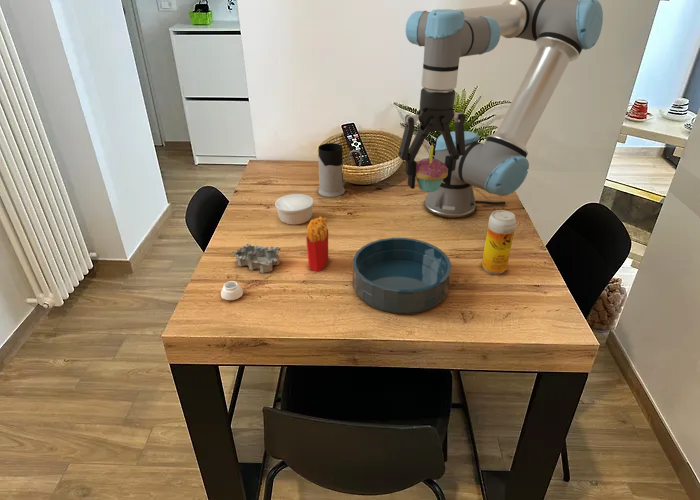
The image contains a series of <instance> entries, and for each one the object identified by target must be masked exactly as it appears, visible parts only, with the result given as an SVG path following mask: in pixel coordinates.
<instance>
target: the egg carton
mask: <svg viewBox="0 0 700 500" xmlns="http://www.w3.org/2000/svg"><path fill="white" fill-rule="evenodd" d="M281 251H282V250H281V248H280V247H278V246H270V247H269V246H262V245H252V244H250V243H247V244H246V245H243V246H242V247H240V248H239V249H236V251H234V252H233V251H232V253H233V256H235V257H236V263H237V266H238V267H245V266H248V269H249V270H251V271H254V270H255V269H258V270H259V271H260V273H261V274H264V273H269V272H272V271H273V270H274V269H273V267H274V266H278V265H280V263H281V262H280V255H279V254H280V252H281Z"/></svg>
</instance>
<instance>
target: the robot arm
mask: <svg viewBox="0 0 700 500" xmlns="http://www.w3.org/2000/svg"><path fill="white" fill-rule="evenodd" d="M603 21H604V11H603V7H602V4H601V2H599V0H505V1H504V2H503V3H501V4H494V5H485V6H476V7H466V8H457V9H451V8H444V9H442V8H441V9H439V8H437V9H432V10H430V11H428V10H416V11H414V12H413V13H411V14H410V15H409V17H408V19H407V20H406V23H405V35H406V36H405V37H406V39H407V40H408V42H409V43H410V44H411V45H417V46H418V47H423V48H424V50H423V63H422V74H421V83H420V84H421V87H422V88H421V89H420V96H419V97H420V98H419V109H418V112H417V114H413V115H410V114H406V115H405V116H404V120H405V121H404V122H405V126H404V130H403V133H402V138H401V142H400V146H399V150H398V152H397V153H398V156H397V157H399V158H400V160H401V161H405V165H404V166H405V167H404V168H405V169H404V172H405V173H406V175H407V186H408V187H409V188H410V189H412V190H413V189H414V190H415V187H416V164H417V162H418V161H416V160H415V159H416V157H417V156H418V154H419V151H420V150H421V148H422V145H423V143H424V142H425V140H426V138H427V137H428V136H429V134H430V133H434V132H440V133H441V134H440V135H439V136H438V138H437V139H436V144H435V148H434V159H436V160H437V159H438V160H439V161H441V162H443V163H445V164H446V166H447V168H448V175H447V177H446V178H444V179H443V181H442V183H441V185H440V187H439V189H438V190H437V191H434V192H427V193H426V196H425V199H424V208H425V209H426V211H427V212H429V213H430V214H432V215H435V216H437V217H441V218H445V219H462V218H466V217H468V216H471V215H472V214H474V212H475V210H476V204H477V205H490V206H500V205H501V206H505V205H506V201H487V200H476V197H475V193H474V189H473V187H475V188H478V189H480V190H482V191H485V192H487V194H492V195H495V196H498V197H507V196H509V195H511V194H513V193H515V191H517V190H518V189H519V188H520V187H521V185H522V184H523V183H524V181H525V180H526V177H527V175H528V172H529V169H530V161H529V159H527V157H528V155H529V152H528V149H527V143H529V140H530V138H531V136H532V134H533V133H534V130H535V129H536V127H537V125H538V123H539V121H540V119H541V117H542V115H543V113H544V111H545V109H546V108H547V105H548V104H549V102H550V100H551V97H552V96H553V94H554V92H555V90H556V88H557V86H558V84H559V82H560V80H561V79H562V77H563V74H564V73H565V71H566V69H567V67H568V65H569V63H571V62H573V61H576V60H578V58H579V57H580V55H581V53H582V51H583V50H585V51H586V50H591V49H592V48H593V47H594V46H595V45H596V44H597V42H598V40H599V38H600V35H601V32H602V28H603ZM501 37H503V38H505V39H522V40H528V41H532V42H535V45H536V49H537V51H536V53H535V55H534V57H533V59H532V61H531V63H530V65H529V67H528V69H527V71H526V73H525V74H524V76H523V79H522V81H521V82H520V85H519V86H518V89H517V91H516V92H515V95H514V96H513V99H512V100H511V102H510V104H509V106H508V108H507V109H506V112H505V114H504V116H503V118H502V120H501V122H500V124H499V126H498V127H497V130H496V132H494V133H492V134H490V135H489V134H488V136H487V137H486V139H485V141H484V143H481V142H479V141H480V138H479V135H478V133H477V132H473V131H467V130H465V122H466V117H467V115H466V113H465V114H464V113H463V112H462V111H457V112H455V111H454V107H455V101H456V90H455V89H456V88H457V85H458V76H459V75H458V74H459V66H460V59H461V58H463V57H471V56H477V55H479V56H480V55H481V56H482V55H483V54H486V53H490V52H491V51H493V50H495V48H496V47H497V46H498V44H499V42H500V39H501ZM418 121H419V123H420V125H419V126H418V128H417V132H416V135H415V137H414V139H413V135H414V131H415V126H416V125H417V122H418ZM452 121H454V130H453V131H451V129H450V128H451V127H450V123H451V122H452ZM412 139H413V140H412Z"/></svg>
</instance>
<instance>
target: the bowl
mask: <svg viewBox="0 0 700 500" xmlns="http://www.w3.org/2000/svg"><path fill="white" fill-rule="evenodd" d="M452 267H453V265H452V263H451V259H450V257H448V255H447V254H446V253H445V252H444V251H443V250H442V249H441V248H439V247H438V246H436V245H433V244H431V243H429V242H427V241H424V240H420V239H417V238H408V237H388V238H387V237H386V238H382V239H377V240H373V241H370V242H368V243H367V244H365V245H363V246H362V247H360V248H359V249H358V250H357V251H356V252H355V254H354V256H353V258H352V287H353V290H354V292H355V294H356V295H357V296H358V297H359V298H360V299H361V300H362V301H363V302H364V303H366V304H367V305H368V306H370V307H372V308H374V309H377V310H379V311H382V312H386V313H390V314H396V315H412V314H418V313H422V312H426V311H429V310H430V309H433V308H435V307H436V306H438V305H439V304H440V303H441V302H443V301H444V300H445V298H446V297H447V296H448V294H449V289H450V284H451V283H450V282H451V275H452Z"/></svg>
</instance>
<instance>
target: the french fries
mask: <svg viewBox="0 0 700 500" xmlns="http://www.w3.org/2000/svg"><path fill="white" fill-rule="evenodd" d="M306 228H307V229H306V230H307V236H306V239H305V241H306V249H307V250H306V251H307V260H308V268H309V270H310V271H314V272H319V271H322V270H324V268H325V267H326V266H327V264H328V263H329V229H328V226H327V217H325V216H324V217H322V216H318V217H316V218H312V219H310V220H309V223H308V225H307V227H306Z"/></svg>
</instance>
